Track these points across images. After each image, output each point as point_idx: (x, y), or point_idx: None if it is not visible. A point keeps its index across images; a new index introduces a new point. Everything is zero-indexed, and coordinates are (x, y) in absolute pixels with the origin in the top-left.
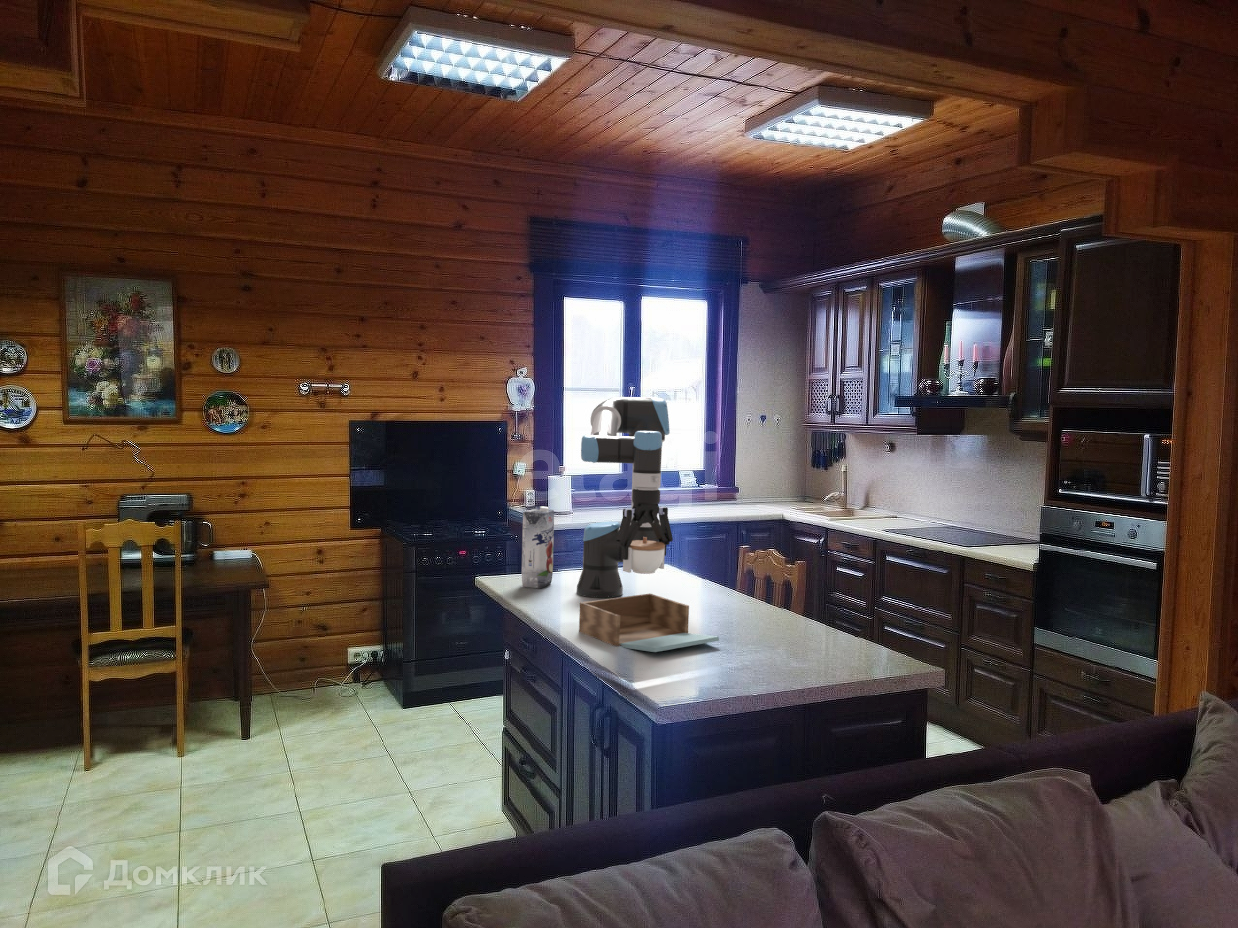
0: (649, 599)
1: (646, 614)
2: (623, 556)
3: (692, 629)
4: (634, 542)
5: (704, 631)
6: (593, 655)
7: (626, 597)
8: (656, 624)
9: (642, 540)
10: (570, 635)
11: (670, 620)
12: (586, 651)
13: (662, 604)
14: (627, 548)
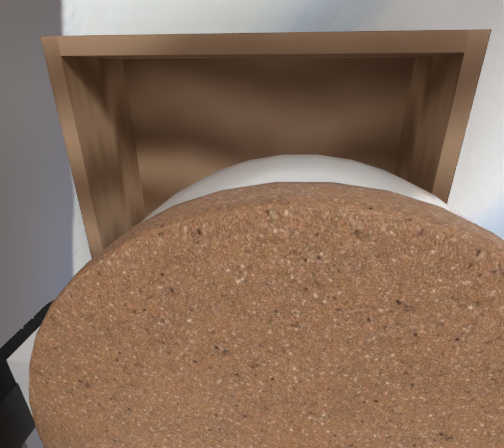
0: (452, 54)
1: (411, 56)
2: None
3: (492, 180)
4: (165, 406)
5: (499, 217)
6: (79, 234)
7: (304, 52)
8: (404, 110)
9: (451, 335)
10: (90, 28)
11: None
12: (75, 200)
13: (428, 159)
14: (26, 419)
